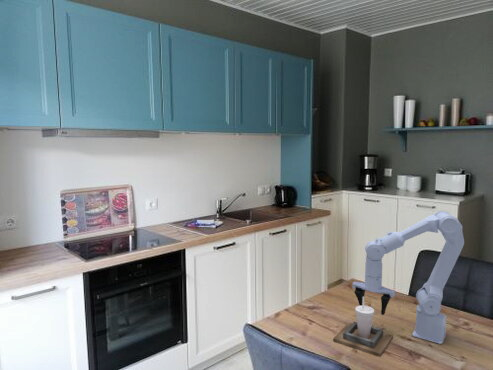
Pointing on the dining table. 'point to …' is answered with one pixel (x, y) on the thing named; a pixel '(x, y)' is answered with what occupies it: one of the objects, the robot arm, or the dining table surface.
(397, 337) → the dining table surface
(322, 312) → the dining table surface
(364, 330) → the smoothie
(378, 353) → the bottle stand
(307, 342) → the dining table surface
